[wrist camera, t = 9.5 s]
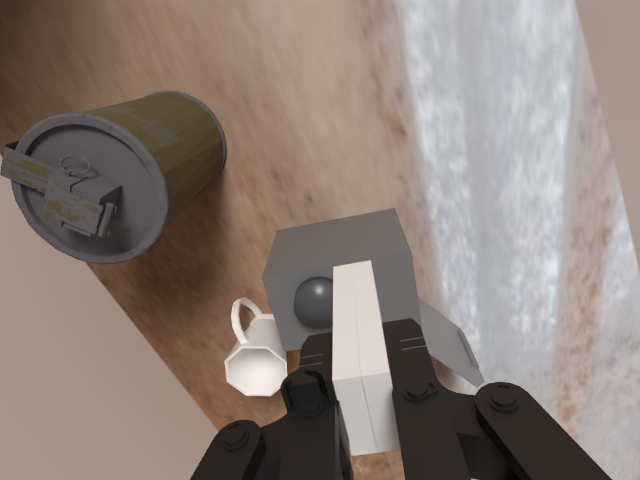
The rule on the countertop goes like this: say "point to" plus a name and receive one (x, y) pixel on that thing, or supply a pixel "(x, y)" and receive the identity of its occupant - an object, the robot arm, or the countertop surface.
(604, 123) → the countertop surface
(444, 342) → the door
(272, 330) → the cup
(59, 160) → the canister
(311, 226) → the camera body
